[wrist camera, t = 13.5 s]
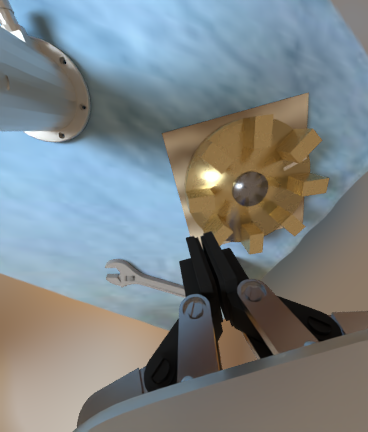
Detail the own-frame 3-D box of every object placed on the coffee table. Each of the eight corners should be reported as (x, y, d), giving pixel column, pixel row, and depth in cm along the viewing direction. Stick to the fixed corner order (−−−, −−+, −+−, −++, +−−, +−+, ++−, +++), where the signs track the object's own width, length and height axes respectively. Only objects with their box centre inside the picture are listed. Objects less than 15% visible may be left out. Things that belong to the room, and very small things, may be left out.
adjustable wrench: (205, 290, 48) (206, 296, 46) (191, 306, 50) (192, 312, 48) (112, 254, 40) (110, 259, 38) (101, 274, 42) (98, 280, 40)
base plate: (162, 133, 31) (162, 133, 29) (302, 94, 30) (309, 92, 29) (193, 247, 41) (194, 251, 39) (298, 219, 41) (303, 222, 39)
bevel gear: (215, 252, 40) (223, 272, 34) (160, 162, 31) (160, 169, 25) (311, 203, 37) (338, 216, 31) (282, 88, 28) (313, 77, 22)
